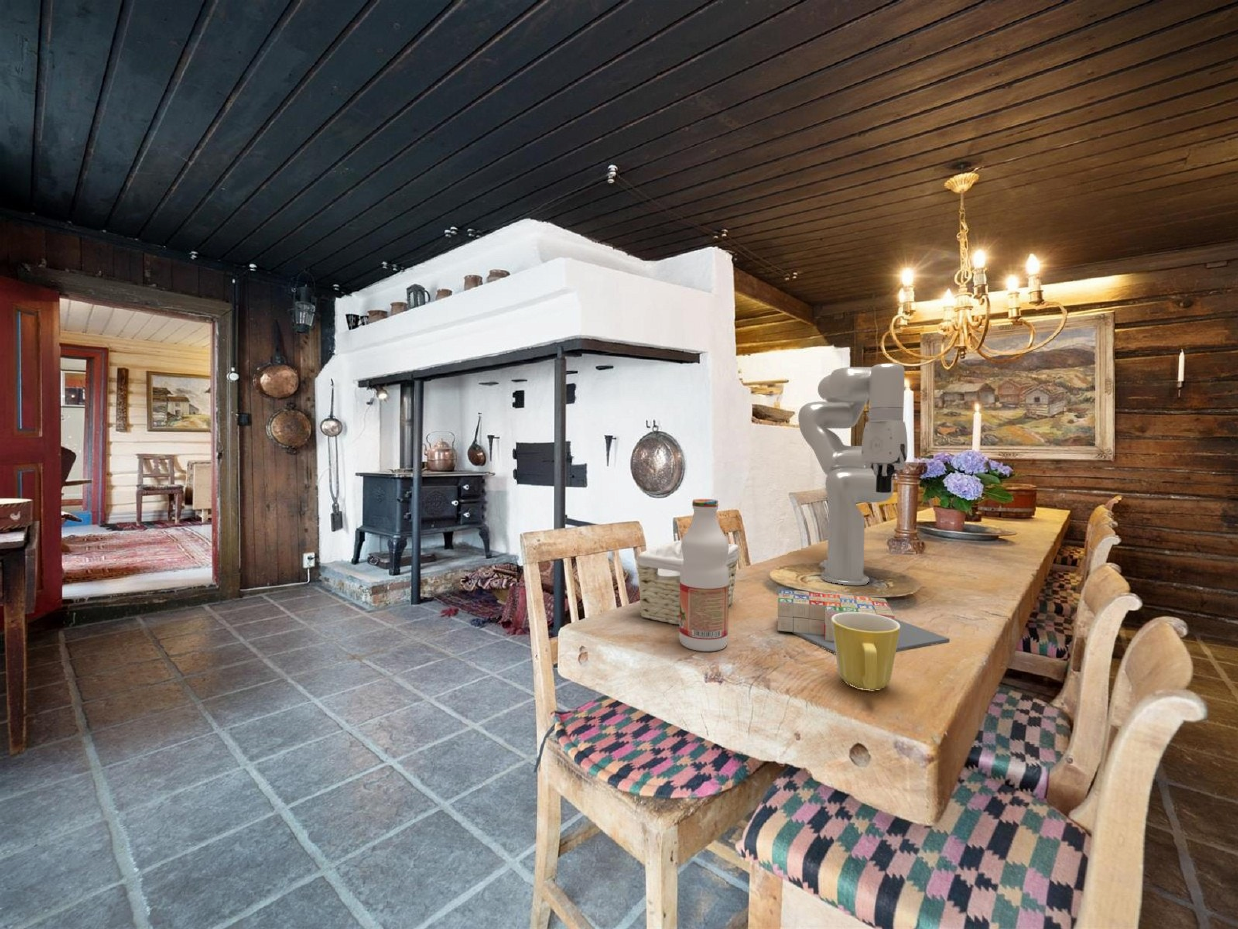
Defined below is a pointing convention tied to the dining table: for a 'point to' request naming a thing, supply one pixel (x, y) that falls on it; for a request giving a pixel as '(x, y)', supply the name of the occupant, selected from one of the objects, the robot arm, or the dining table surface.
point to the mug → (865, 648)
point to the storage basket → (669, 580)
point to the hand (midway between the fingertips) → (883, 492)
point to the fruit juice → (704, 581)
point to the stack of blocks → (822, 610)
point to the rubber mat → (907, 638)
